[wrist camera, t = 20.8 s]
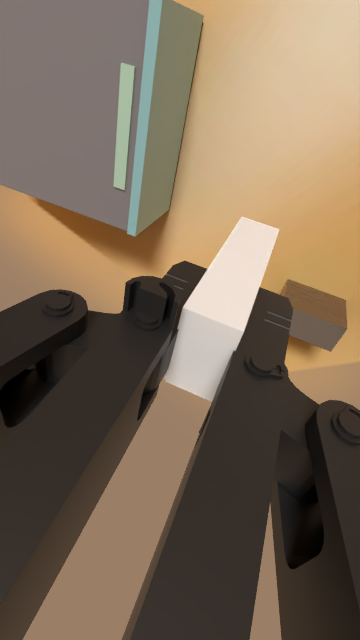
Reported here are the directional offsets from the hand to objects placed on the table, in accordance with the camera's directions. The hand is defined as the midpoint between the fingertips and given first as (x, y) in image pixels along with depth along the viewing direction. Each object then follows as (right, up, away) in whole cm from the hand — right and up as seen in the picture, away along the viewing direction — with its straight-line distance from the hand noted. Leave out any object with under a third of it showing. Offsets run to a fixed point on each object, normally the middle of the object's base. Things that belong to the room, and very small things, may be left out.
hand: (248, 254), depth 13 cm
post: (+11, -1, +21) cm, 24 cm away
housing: (-11, +18, +18) cm, 28 cm away
